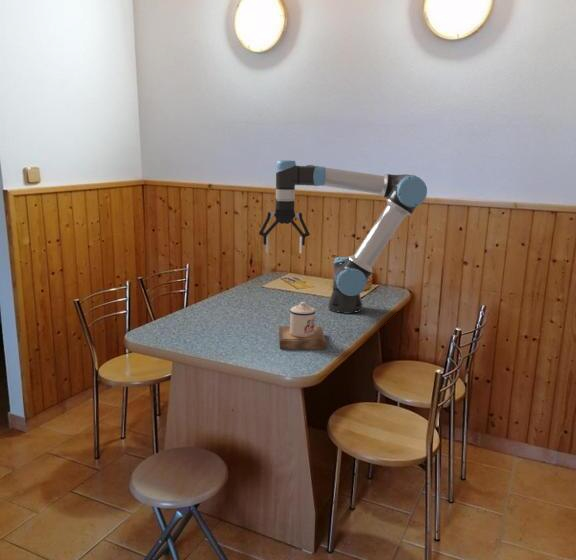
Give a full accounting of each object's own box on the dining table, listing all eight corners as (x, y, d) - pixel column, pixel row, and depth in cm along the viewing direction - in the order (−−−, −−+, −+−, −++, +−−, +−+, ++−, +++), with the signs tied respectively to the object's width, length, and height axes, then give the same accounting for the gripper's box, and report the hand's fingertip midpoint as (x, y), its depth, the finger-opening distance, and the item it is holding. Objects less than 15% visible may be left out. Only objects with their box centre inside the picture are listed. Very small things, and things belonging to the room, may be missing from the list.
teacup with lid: (307, 339, 191) (309, 307, 188) (284, 335, 195) (285, 303, 192) (322, 330, 201) (323, 299, 199) (299, 326, 205) (300, 296, 203)
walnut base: (321, 334, 207) (321, 326, 206) (325, 349, 191) (326, 340, 191) (278, 333, 206) (279, 325, 205) (279, 348, 191) (280, 339, 190)
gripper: (315, 199, 222) (313, 251, 227) (253, 198, 221) (253, 250, 226) (317, 201, 215) (315, 255, 219) (253, 200, 214) (252, 253, 218)
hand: (283, 252), depth 223 cm, fingers open, 13 cm apart
